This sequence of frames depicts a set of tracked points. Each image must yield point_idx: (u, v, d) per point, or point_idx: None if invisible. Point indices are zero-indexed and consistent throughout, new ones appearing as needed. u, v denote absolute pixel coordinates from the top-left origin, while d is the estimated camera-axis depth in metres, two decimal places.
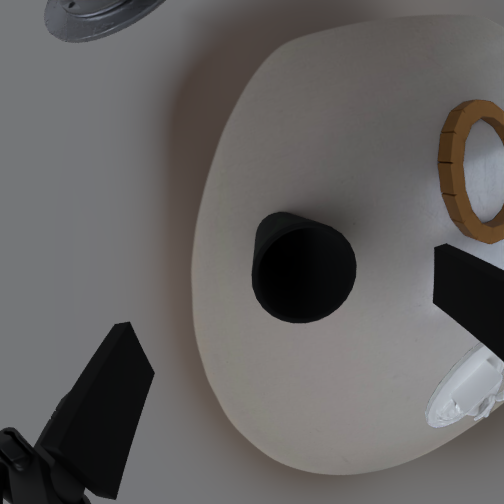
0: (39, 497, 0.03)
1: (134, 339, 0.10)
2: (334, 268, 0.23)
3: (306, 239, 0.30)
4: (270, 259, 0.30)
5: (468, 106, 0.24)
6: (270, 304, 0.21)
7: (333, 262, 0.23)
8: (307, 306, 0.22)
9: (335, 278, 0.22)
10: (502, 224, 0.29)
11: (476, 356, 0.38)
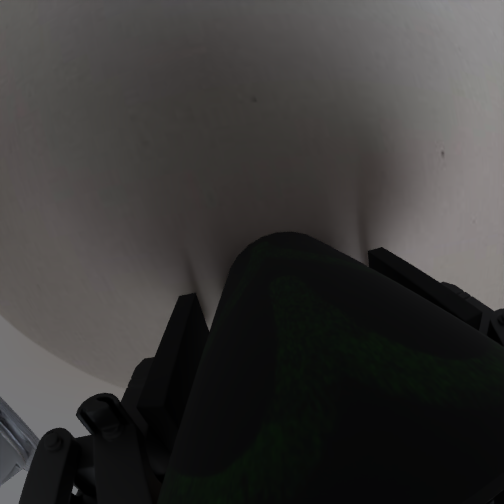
0: (133, 472, 0.04)
1: (199, 309, 0.12)
2: None
3: None
4: None
5: None
6: None
7: None
8: None
9: None
10: None
11: None
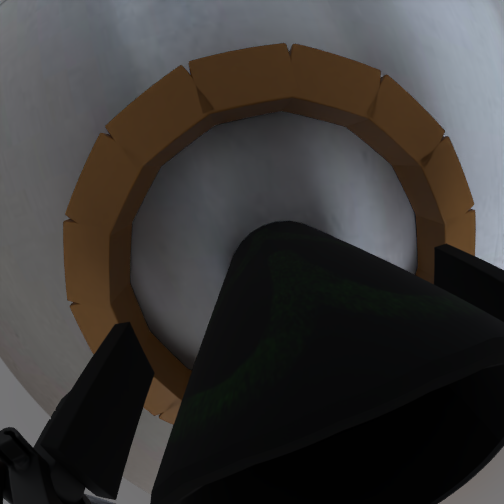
0: (39, 497, 0.03)
1: (134, 339, 0.10)
2: None
3: None
4: None
5: None
6: (417, 494, 0.04)
7: None
8: (474, 394, 0.04)
9: None
10: (445, 229, 0.11)
11: None
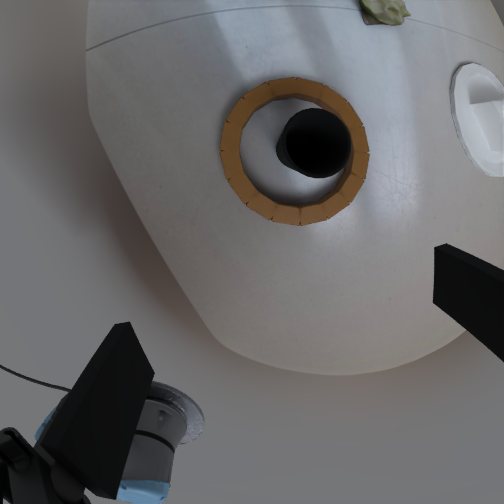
0: (39, 497, 0.03)
1: (134, 339, 0.10)
2: (315, 119, 0.29)
3: (296, 132, 0.37)
4: (311, 158, 0.38)
5: (239, 195, 0.38)
6: (336, 166, 0.29)
7: (311, 119, 0.30)
8: (341, 140, 0.29)
9: (322, 119, 0.29)
10: (350, 132, 0.36)
11: (465, 128, 0.37)
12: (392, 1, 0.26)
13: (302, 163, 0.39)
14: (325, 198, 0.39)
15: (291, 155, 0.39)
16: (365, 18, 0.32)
